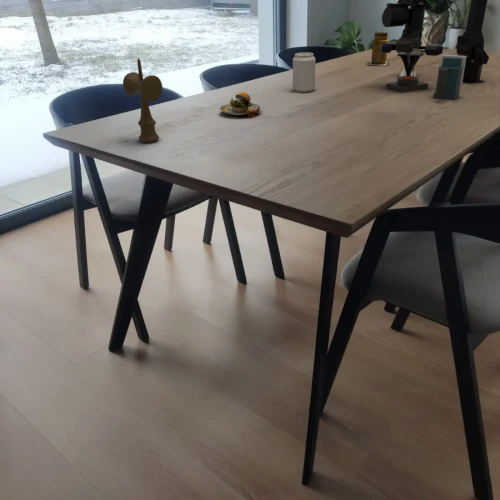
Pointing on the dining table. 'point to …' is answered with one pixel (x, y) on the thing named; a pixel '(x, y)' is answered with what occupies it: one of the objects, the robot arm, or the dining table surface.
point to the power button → (408, 77)
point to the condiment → (379, 49)
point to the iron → (450, 77)
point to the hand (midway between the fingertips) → (408, 76)
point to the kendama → (144, 100)
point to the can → (304, 72)
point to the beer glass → (405, 71)
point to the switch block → (406, 85)
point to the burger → (241, 106)
